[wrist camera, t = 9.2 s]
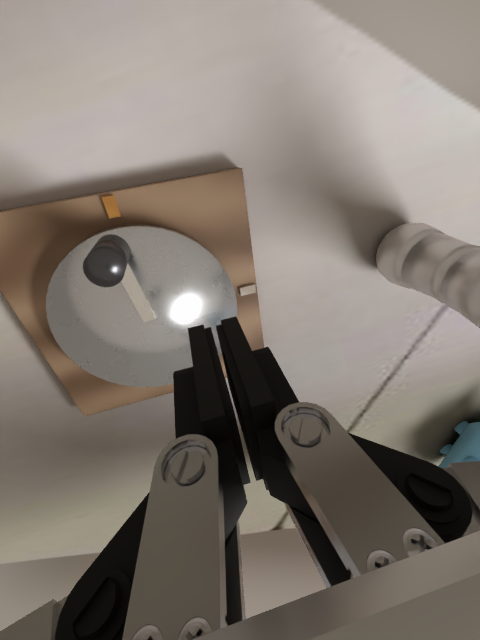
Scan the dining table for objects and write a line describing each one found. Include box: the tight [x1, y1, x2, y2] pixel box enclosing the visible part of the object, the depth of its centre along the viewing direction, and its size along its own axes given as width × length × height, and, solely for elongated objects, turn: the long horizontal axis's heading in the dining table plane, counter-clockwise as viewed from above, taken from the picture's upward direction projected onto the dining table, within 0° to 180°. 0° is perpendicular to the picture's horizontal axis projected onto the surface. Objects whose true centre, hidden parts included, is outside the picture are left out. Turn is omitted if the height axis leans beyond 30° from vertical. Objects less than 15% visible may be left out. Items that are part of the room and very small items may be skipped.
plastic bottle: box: [376, 223, 480, 328], centre depth 25 cm, size 6×7×20 cm
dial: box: [46, 224, 237, 387], centre depth 26 cm, size 17×17×6 cm
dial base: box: [0, 168, 264, 416], centre depth 29 cm, size 22×22×2 cm
